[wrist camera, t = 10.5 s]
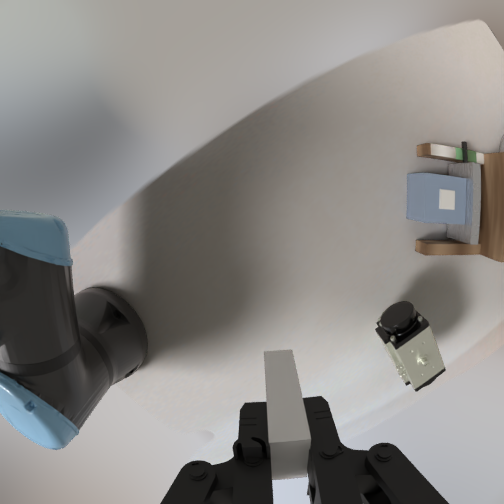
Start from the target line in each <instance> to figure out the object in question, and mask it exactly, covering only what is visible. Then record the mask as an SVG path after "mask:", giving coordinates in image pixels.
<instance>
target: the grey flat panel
mask: <svg viewBox="0 0 504 504" xmlns="http://www.w3.org/2000/svg"><path fill="white" fill-rule="evenodd" d="M462 157H463V163H457V164H448V176H454V177H460V178H466V217H465V225H462V224H447V237H449V238H452V239H455V240H458V241H461V242H464V243H467V244H470V245H478V239H479V227H480V208H481V167H480V164H479V163H474V162H469V163H468V157H467V142H462Z"/></svg>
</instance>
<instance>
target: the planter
mask: <svg viewBox="0 0 504 504" xmlns="http://www.w3.org/2000/svg"><path fill="white" fill-rule="evenodd" d="M500 152H504V135H503V137H502V140H501V143H500Z"/></svg>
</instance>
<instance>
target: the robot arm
mask: <svg viewBox="0 0 504 504" xmlns="http://www.w3.org/2000/svg"><path fill="white" fill-rule="evenodd" d="M72 265H73V261H72V259H71V255H70V246H69V236H68V229H67V227H66V225H65V223H64V222H63V221H62V220H61V219H60V218H58V217H56V216H54V215H49V214H43V213H36V212H27V211H14V210H0V413H1V414H2V415H3V417H4V418H5V419H6V420H7V421H8V422H9V423H10V424H11V425H12V426H13V427H14V428H15V429H17V430H18V431H19V432H20V433H21V434H23V435H24V436H25V437H27V438H28V439H30V440H31V441H33V442H35V443H36V444H38V445H40V446H43V447H45V448H49V449H53V450H57V449H61V448H64V447H65V446H67V445H68V443H69V442H70V441H71V440H72V439H73V438H74V437H75V436H76V435H78V433H79V430H80V428H81V427H82V426H83V424H84V422H85V421H86V420H87V418H88V417H89V415H90V414H91V413H92V411H93V410H94V408H95V407H96V406H97V404H98V403H99V401H100V400H101V399H102V397H103V396H104V395H105V393H106V392H107V390H108V389H109V388H110V386H112V385H113V384H115V383H117V382H119V381H121V380H123V379H124V378H127V377H129V376H131V375H132V374H133V373H134V372H136V371H137V369H138V368H139V367H140V365H141V364H142V362H143V361H144V359H145V356H146V353H147V336H146V332H145V329H144V327H143V324H142V322H141V320H140V318H139V317H138V315H137V314H136V312H135V311H134V310H133V309H132V307H131V306H130V305H129V304H128V303H127V302H126V301H124V300H123V299H122V298H121V297H119V296H118V295H116V294H114V293H112V292H110V291H108V290H105V289H101V288H88V289H85V290H82V291H80V292H79V293H77V294H76V295H74V290H73V279H72ZM264 361H265V380H266V398H267V402H251V403H245V404H244V405H243V406H242V408H241V409H240V420H239V435H238V440H236V441H235V442H234V445H233V453H234V457H233V458H232V459H230V460H229V461H227V462H224V463H220V464H216V465H211V464H210V463H208V462H205V461H198V460H197V461H192V462H189V463H187V464H185V466H183V468H182V469H181V470H180V472H179V474H178V475H177V477H176V479H175V480H174V482H173V484H172V485H171V487H170V489H169V491H168V492H167V494H166V496H165V497H164V499H163V500H162V502H161V503H160V504H273V489H272V480H280V479H291V478H302V477H307V473H308V478H309V485H308V491H307V495H309V496H310V502H311V504H449V503H448V502H447V501H446V500H445V499H444V498H443V497H442V496H441V495H440V494H439V493H438V491H437V490H436V489H435V488H434V487H433V486H432V485H431V484H430V483H429V482H428V481H427V479H426V478H425V477H424V476H423V475H422V474H421V473H420V472H419V471H418V470H417V469H416V467H414V465H413V464H412V463H411V462H410V461H409V460H408V459H407V457H406V456H405V455H404V454H403V453H402V452H401V451H400V450H399V449H398V448H397V447H396V446H394V445H393V444H390V443H379V444H376V445H374V446H372V447H371V448H370V449H369V451H367V450H353V449H350V448H347V447H346V446H344V445H343V444H342V443H341V441H340V439H339V436H338V433H337V430H336V427H335V424H334V420H333V418H332V414H331V411H330V408H329V405H328V402H327V401H326V400H325V399H324V398H323V397H322V396H317V397H308V398H302V393H301V388H300V384H299V379H298V374H297V370H296V365H295V361H294V356H293V352H292V350H279V351H264Z"/></svg>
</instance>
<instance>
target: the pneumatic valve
mask: <svg viewBox="0 0 504 504" xmlns="http://www.w3.org/2000/svg"><path fill="white" fill-rule="evenodd" d="M377 325H378V328H376V329H375V330H376V332H377V334H378V336H379V338H380V339H381V341H382V343H383V345H384V347H385V349H386V351H387V352H388V354H389V356H390V358H391V360H392V362H393V364H394V366H395V368H396V370H397V372H398V374H399V375H400V377H401V378H402V380H403V381H404V383H405V384H406V386H407V385H409V384H411V385H412V387H413V388H414V390H415V391H416V392H417V391H418V390H420V389H421V388H423V387H425V386H427V385H429V384H431V383H432V382H433V381H434V380H435V379H436V377H438V376H439V375H440V374H442V373H443V372H444V371H446V369H445V366H444V363H443V360H442V358H441V355H440V352H439V349H438V346H437V344H436V341H435V338H434V336H433V333H432V330H431V328H430V325H429V323H428V321H427V320H426V319H425V318H424V317H423V316H421V315H420V314H419V313H418V312H417V311H416V310H415V309H414V306H413V304H412V303H410V302H407V301H403V302H398V303H396V304H394V305H392V306H390V307H389V308H388V309H387V310H386V311H384V312H383V313H382V316H381V317H380V318H379V319H378V322H377Z"/></svg>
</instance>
